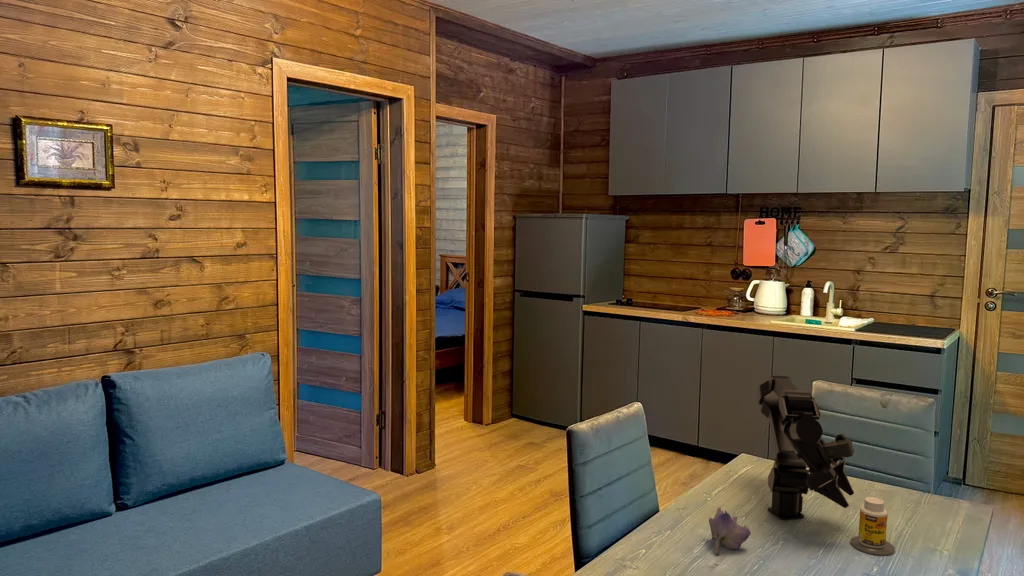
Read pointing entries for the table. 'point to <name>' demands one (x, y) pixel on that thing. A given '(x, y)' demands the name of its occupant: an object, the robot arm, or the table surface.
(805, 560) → the table surface
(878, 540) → the supplement bottle
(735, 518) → the flower
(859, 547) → the slate coaster
